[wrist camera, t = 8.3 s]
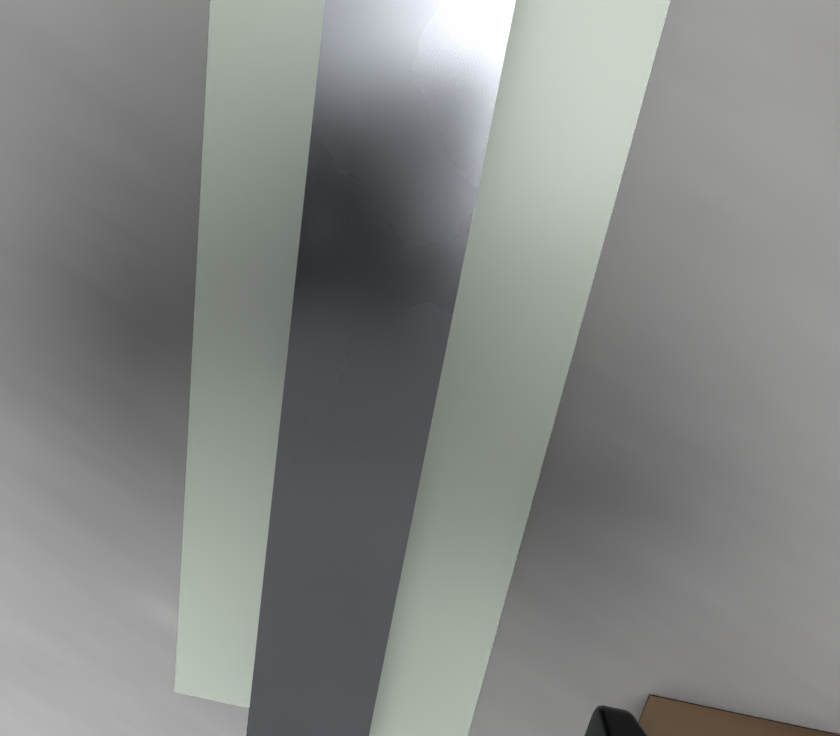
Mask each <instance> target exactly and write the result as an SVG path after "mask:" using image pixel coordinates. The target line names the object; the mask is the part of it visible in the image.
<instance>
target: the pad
mask: <svg viewBox="0 0 840 736" xmlns="http://www.w3.org/2000/svg"><path fill="white" fill-rule="evenodd" d="M669 4H670V0H516V2H515V7H514V12H513V17H512V22H511V27H510V32H509V37H508V42H507V47H506V52H505V57H504V62H503V67H502V72H501V77H500V82H499V87H498V92H497V97H496V102H495V107H494V112H493V117H492V122H491V127H490V132H489V137H488V142H487V147H486V152H485V157H484V162H483V167H482V172H481V177H480V182H479V187H478V192H477V197H476V202H475V207H474V212H473V217H472V222H471V227H470V232H469V237H468V242H467V247H466V252H465V257H464V262H463V267H462V272H461V277H460V282H459V287H458V292H457V297H456V302H455V307H454V312H453V317H452V322H451V327H450V332H449V337H448V342H447V347H446V352H445V357H444V362H443V367H442V372H441V377H440V382H439V387H438V392H437V397H436V402H435V407H434V412H433V417H432V422H431V427H430V432H429V437H428V442H427V447H426V452H425V457H424V462H423V467H422V472H421V477H420V482H419V487H418V492H417V497H416V502H415V507H414V512H413V517H412V522H411V527H410V532H409V537H408V542H407V547H406V552H405V557H404V562H403V567H402V572H401V577H400V582H399V587H398V592H397V597H396V602H395V607H394V612H393V617H392V622H391V627H390V632H389V637H388V642H387V647H386V652H385V657H384V662H383V667H382V672H381V677H380V682H379V687H378V692H377V697H376V702H375V707H374V712H373V717H372V722H371V727H370V732H369V735H374V736H468V733H469V730H470V726H471V722H472V719H473V715H474V712H475V708H476V704H477V701H478V697H479V693H480V690H481V686H482V682H483V679H484V675H485V672H486V668H487V664H488V661H489V657H490V653H491V650H492V646H493V643H494V639H495V635H496V632H497V628H498V624H499V621H500V617H501V614H502V610H503V606H504V603H505V599H506V595H507V592H508V588H509V585H510V581H511V577H512V574H513V570H514V566H515V563H516V559H517V556H518V552H519V548H520V545H521V541H522V537H523V534H524V530H525V526H526V523H527V519H528V516H529V512H530V508H531V505H532V501H533V497H534V494H535V490H536V487H537V483H538V479H539V476H540V472H541V468H542V465H543V461H544V458H545V454H546V450H547V447H548V443H549V439H550V436H551V432H552V429H553V425H554V421H555V418H556V414H557V410H558V407H559V403H560V400H561V396H562V392H563V389H564V385H565V381H566V378H567V374H568V370H569V367H570V363H571V360H572V356H573V352H574V349H575V345H576V341H577V338H578V334H579V331H580V327H581V323H582V320H583V316H584V312H585V309H586V305H587V302H588V298H589V294H590V291H591V287H592V283H593V280H594V276H595V273H596V269H597V265H598V262H599V258H600V254H601V251H602V247H603V244H604V240H605V236H606V233H607V229H608V225H609V222H610V218H611V215H612V211H613V207H614V204H615V200H616V196H617V193H618V189H619V185H620V182H621V178H622V175H623V171H624V167H625V164H626V160H627V156H628V153H629V149H630V146H631V142H632V138H633V135H634V131H635V127H636V124H637V120H638V117H639V113H640V109H641V106H642V102H643V98H644V95H645V91H646V88H647V84H648V80H649V77H650V73H651V69H652V66H653V62H654V59H655V55H656V51H657V48H658V44H659V40H660V37H661V33H662V29H663V26H664V22H665V19H666V15H667V11H668V8H669ZM324 7H325V0H210V16H209V35H208V54H207V74H206V93H205V112H204V132H203V151H202V170H201V189H200V209H199V228H198V247H197V267H196V286H195V305H194V325H193V344H192V363H191V383H190V402H189V421H188V440H187V460H186V479H185V498H184V518H183V537H182V556H181V576H180V595H179V614H178V634H177V653H176V672H175V692H176V693H180V694H185V695H189V696H194V697H199V698H203V699H208V700H212V701H217V702H222V703H226V704H231V705H235V706H240V707H245V708H249V707H250V698H251V688H252V679H253V670H254V660H255V651H256V642H257V632H258V623H259V614H260V604H261V595H262V586H263V576H264V567H265V558H266V548H267V539H268V530H269V520H270V511H271V502H272V492H273V483H274V474H275V464H276V455H277V446H278V436H279V427H280V418H281V408H282V399H283V390H284V380H285V371H286V362H287V352H288V343H289V334H290V324H291V315H292V306H293V296H294V287H295V278H296V268H297V259H298V250H299V240H300V231H301V222H302V212H303V203H304V194H305V184H306V175H307V166H308V156H309V147H310V138H311V128H312V119H313V110H314V100H315V91H316V82H317V72H318V63H319V54H320V44H321V35H322V26H323V16H324Z"/></svg>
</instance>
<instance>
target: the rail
mask: <svg viewBox="0 0 840 736" xmlns="http://www.w3.org/2000/svg"><path fill="white" fill-rule="evenodd" d="M515 2H516V0H325V7H324V16H323V26H322V35H321V44H320V54H319V63H318V72H317V82H316V91H315V100H314V110H313V119H312V128H311V138H310V147H309V156H308V166H307V175H306V184H305V194H304V203H303V212H302V222H301V231H300V240H299V250H298V259H297V268H296V278H295V287H294V296H293V306H292V315H291V324H290V334H289V343H288V352H287V362H286V371H285V380H284V390H283V399H282V408H281V418H280V427H279V436H278V446H277V455H276V464H275V474H274V483H273V492H272V502H271V511H270V520H269V530H268V539H267V548H266V558H265V567H264V576H263V586H262V595H261V604H260V614H259V623H258V632H257V642H256V651H255V660H254V670H253V679H252V688H251V698H250V707H249V716H248V726H247V735H246V736H369V732H370V727H371V722H372V717H373V712H374V707H375V702H376V697H377V692H378V687H379V682H380V677H381V672H382V667H383V662H384V657H385V652H386V647H387V642H388V637H389V632H390V627H391V622H392V617H393V612H394V607H395V602H396V597H397V592H398V587H399V582H400V577H401V572H402V567H403V562H404V557H405V552H406V547H407V542H408V537H409V532H410V527H411V522H412V517H413V512H414V507H415V502H416V497H417V492H418V487H419V482H420V477H421V472H422V467H423V462H424V457H425V452H426V447H427V442H428V437H429V432H430V427H431V422H432V417H433V412H434V407H435V402H436V397H437V392H438V387H439V382H440V377H441V372H442V367H443V362H444V357H445V352H446V347H447V342H448V337H449V332H450V327H451V322H452V317H453V312H454V307H455V302H456V297H457V292H458V287H459V282H460V277H461V272H462V267H463V262H464V257H465V252H466V247H467V242H468V237H469V232H470V227H471V222H472V217H473V212H474V207H475V202H476V197H477V192H478V187H479V182H480V177H481V172H482V167H483V162H484V157H485V152H486V147H487V142H488V137H489V132H490V127H491V122H492V117H493V112H494V107H495V102H496V97H497V92H498V87H499V82H500V77H501V72H502V67H503V62H504V57H505V52H506V47H507V42H508V37H509V32H510V27H511V22H512V17H513V12H514V7H515Z"/></svg>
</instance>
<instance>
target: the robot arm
mask: <svg viewBox="0 0 840 736" xmlns="http://www.w3.org/2000/svg"><path fill="white" fill-rule="evenodd" d="M585 736H648V735H647V734H646V732H645V731H644V730H643V728H642V727H641V725H640V724H639V723H638V721H637V720H636V718H635V717H634V716H633V715H632V714H631V713H630V712H628V711H626V710H622V709H617V708H613V707H608V706H603V705H602V706H598V707H597V708H596V709H595V710H594V712H593V714H592V717H591V720H590V722H589V725H588V728H587V731H586V733H585Z"/></svg>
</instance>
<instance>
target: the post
mask: <svg viewBox="0 0 840 736" xmlns="http://www.w3.org/2000/svg"><path fill="white" fill-rule="evenodd" d="M639 724H640V725H641V727H642V728H643V730H644V731H645V732H646V734H647V735H648V736H839V735H835V734H830V733H825V732H821V731H816V730H811V729H806V728H802V727H797V726H792V725H788V724H783V723H778V722H773V721H769V720H764V719H759V718H755V717H750V716H745V715H740V714H736V713H731V712H726V711H722V710H717V709H712V708H707V707H703V706H698V705H693V704H689V703H684V702H679V701H674V700H670V699H665V698H660V697H656V696H651V695H650V696H649V698H648V701H647V703H646V706H645V708H644V711H643V713H642V716H641V718H640V721H639Z"/></svg>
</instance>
